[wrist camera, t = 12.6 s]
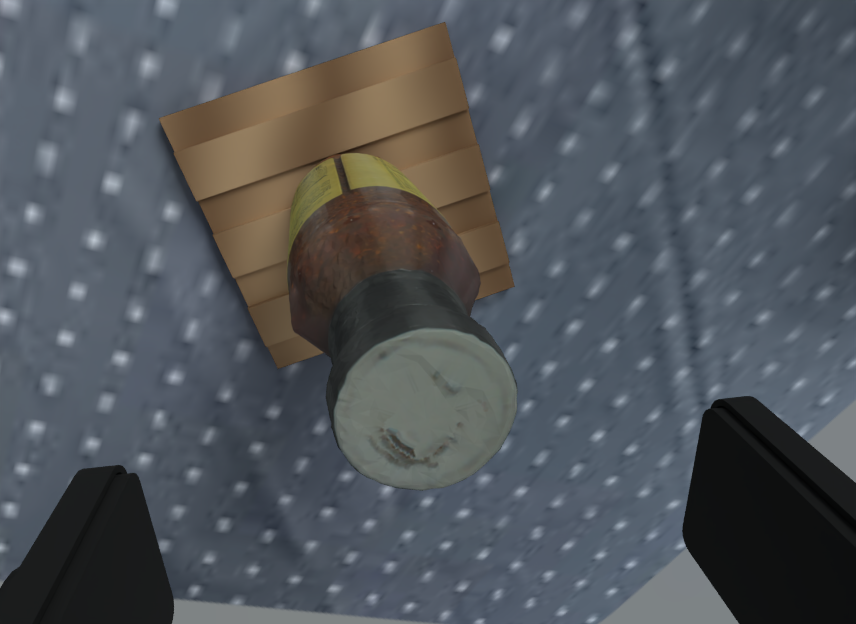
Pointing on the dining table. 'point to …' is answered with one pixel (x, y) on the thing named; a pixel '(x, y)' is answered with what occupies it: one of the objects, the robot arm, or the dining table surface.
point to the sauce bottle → (395, 326)
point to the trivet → (326, 136)
